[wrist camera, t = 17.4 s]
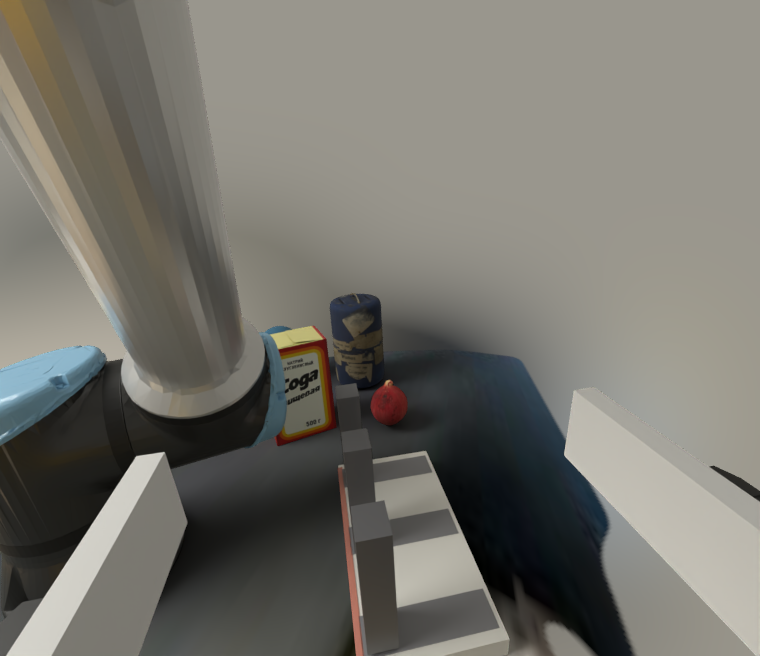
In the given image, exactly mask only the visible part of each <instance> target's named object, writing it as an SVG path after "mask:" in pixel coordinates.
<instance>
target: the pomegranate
mask: <svg viewBox="0 0 760 656" xmlns="http://www.w3.org/2000/svg"><path fill="white" fill-rule="evenodd" d="M371 411H372V413H373V416H374V417H375V419H376V420H378V421H379V422H380V423H382V424H385V425H393V424H396V423H397V422H399V421H400V420H402V418H403V417H404V416H405V414H406V412H407V398H406V396H405V394H404V393H403V392H402V391H401V390H400V389H399V388H398V387H396V386H393V382H392V381H391V380H388V381H386V382H385V384H384V386H382V387H380V388H379V389H378V390H377V391H376V392H375V393H374V395H373V397H372V401H371Z"/></svg>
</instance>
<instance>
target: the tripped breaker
mask: <svg viewBox="0 0 760 656" xmlns="http://www.w3.org/2000/svg"><path fill="white" fill-rule="evenodd" d="M351 514H352V523H353V532H354V541H355V550H356V559H357V568H358V577H359V586H360V596H361V605H362V614H363V622H364V630H365V638H366V646H367V654H368V655H371V654H375V653H379V652H384V651H388V650H392V649H396V648H399V634H398V618H397V601H396V584H395V567H394V550H393V535H392V530H391V526H390V522H389V518H388V514H387V510H386V505H385V501H384V500H383V501H377V502H372V503H366V504H361V505H355V506H351Z"/></svg>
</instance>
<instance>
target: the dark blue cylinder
mask: <svg viewBox="0 0 760 656" xmlns="http://www.w3.org/2000/svg"><path fill="white" fill-rule="evenodd" d="M330 314H331V324H332V334H333V345H334V356H335V364H336V373H337V378H338V381H339V382H340V383H341V384H342V385H347V384H354V383H356V385H357V388H367V387H371V386H373V385H375V384H377V383H379V382H380V381H381V380H382V379H383V376H384V356H383V337H382V320H381V304H380V301H379V299H378V298H377V297H375V296H373V295H368V294H355V293H352V294H350V295H344V296H341V297H338V298H336V299H334V300H333V301H332V302H331V304H330Z"/></svg>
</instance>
